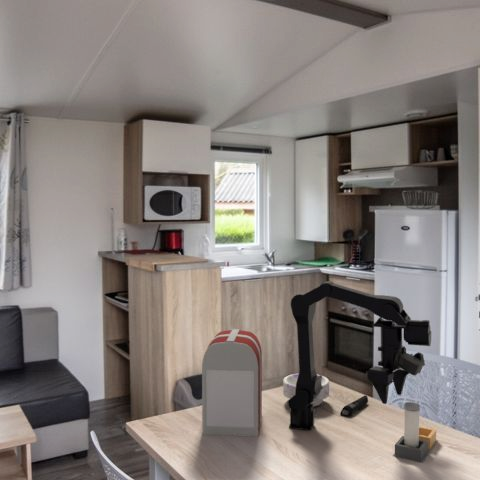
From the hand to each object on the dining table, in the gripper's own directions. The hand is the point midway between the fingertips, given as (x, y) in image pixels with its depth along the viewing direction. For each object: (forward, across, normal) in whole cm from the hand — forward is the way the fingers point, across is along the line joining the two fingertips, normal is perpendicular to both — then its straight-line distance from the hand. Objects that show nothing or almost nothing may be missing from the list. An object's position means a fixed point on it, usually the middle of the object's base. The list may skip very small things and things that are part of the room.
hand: (392, 399), depth 155 cm
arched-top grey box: (+11, -18, +42) cm, 47 cm away
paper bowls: (+11, +11, +36) cm, 39 cm away
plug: (+11, -7, -8) cm, 15 cm away
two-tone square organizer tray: (+12, -2, -8) cm, 14 cm away
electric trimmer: (+12, +15, +20) cm, 28 cm away
